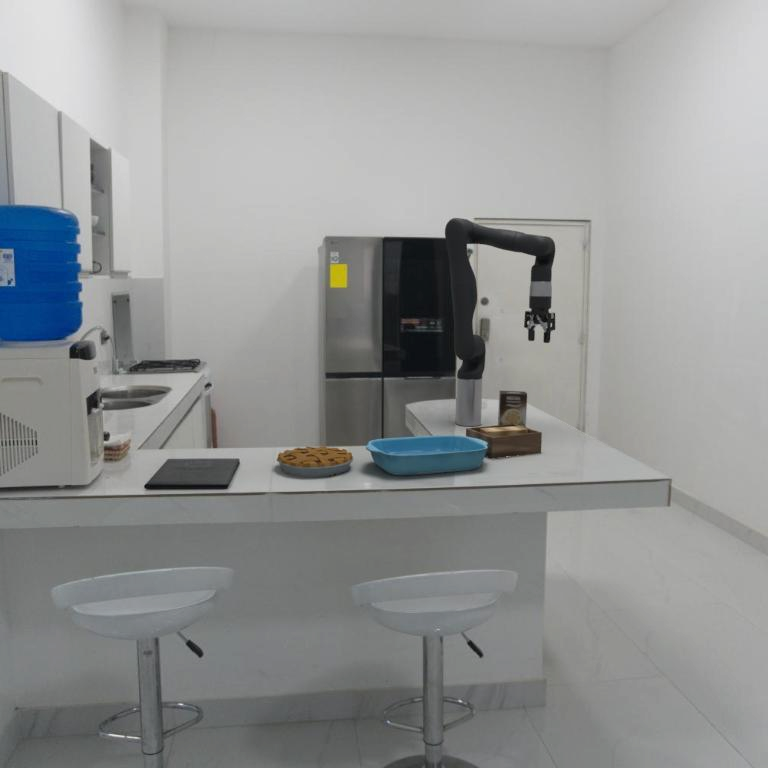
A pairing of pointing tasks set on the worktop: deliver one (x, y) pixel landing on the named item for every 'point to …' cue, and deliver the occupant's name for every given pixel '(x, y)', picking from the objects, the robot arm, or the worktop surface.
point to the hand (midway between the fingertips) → (538, 341)
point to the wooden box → (508, 442)
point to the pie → (315, 461)
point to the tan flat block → (503, 431)
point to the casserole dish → (427, 454)
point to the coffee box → (512, 408)
